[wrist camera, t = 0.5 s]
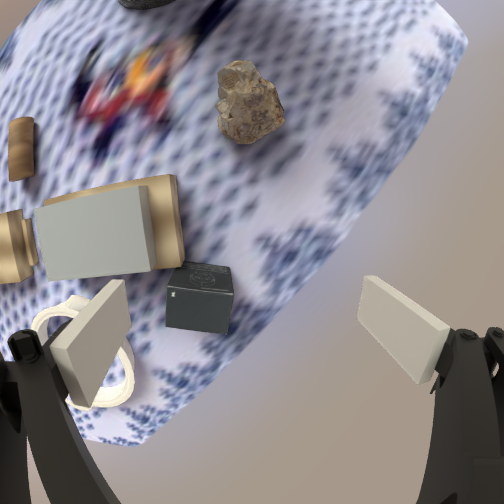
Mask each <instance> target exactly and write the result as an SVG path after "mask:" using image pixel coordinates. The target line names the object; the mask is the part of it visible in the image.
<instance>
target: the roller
mask: <svg viewBox="0 0 504 504" xmlns="http://www.w3.org/2000/svg"><path fill="white" fill-rule="evenodd" d="M33 132H34V118H32V117H21V118H17V119H14V120H13V121H11V122H10V124H9V142H8V167H9V181H19V180H23V179H27V178H30V177H32V176H34V160H33Z"/></svg>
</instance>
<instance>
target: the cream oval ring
mask: <svg viewBox="0 0 504 504" xmlns="http://www.w3.org/2000/svg"><path fill="white" fill-rule="evenodd" d="M90 301H91V300H89V299H87V298H84V297H82V296H79V295H71V297H70V298H69V299H68V300H67V301H66V302H64V303H60V304H58V305H57V306H55V307H51V308H46V309H44V310H43V311H41V312H39V313H38V315H37V316H36V317H35V318H34V320H33V323H32V325H31V330H34V331H36V332H37V334H38V337H39V340H40V343H41V345H42V346H43V345H44V343H45V342H46V341H47V340H48V335H47V326H48V321H49V319H50V317H52V316H57V315H58V316H68V317H72V318H75V317H76V316H77V315H78V314H79V312H80V311H81V310H82V309H83V308H84V307H85V306H86V305H87V304H88V303H89V302H90ZM117 354H118V356H119V358H120V359H121V361H122V364H123V367H124V370H125V375H126V380H125V381H124V382H123V383H121V384H120V385H118V386H114V387H108V388H103V387H100V388H99V391H98V393H97V395H96V397H95V399H94V401H93V403H92V406H91V408H86V407H82V406H77V405H74V404H73V403H72V402H71V401H69V400H68V399H67V398H66V400H65V401H66V403H68V404H69V405H71V406H73V407H74V408H77V409H79V410H81V411H87V412H88V411H89V410H91V409H92V407H93V406H96V407H113V406H117V405H120V404H122V403H123V402H125V401H126V400H127V399H128V398H129V397H130V396H131V394H132V392H133V389H134V383H135V380H134V368H135V359H134V354H133V351H132V348H131V346H130V344H129V342H128V340H127V338H126V337H125V339H124V341H123V343H122V345H121V347H120V348H119V350H118V352H117ZM68 395H69V394H68ZM69 396H70V395H69Z"/></svg>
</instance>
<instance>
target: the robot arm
mask: <svg viewBox="0 0 504 504" xmlns="http://www.w3.org/2000/svg"><path fill="white" fill-rule="evenodd" d="M118 1H119V2H120V4H121V5H123V6H125V7H127V8H131V9H149V8H154V7H158V6H162V5H165V4H168V3H170V2H172V1H175V0H118ZM357 320H358V321H359V322H360V323H361V324H362V325H363V326H364V327H365V328H366V329H367V330H368V331H369V332H370V333H371V334H372V336H373V337H375V339H376V340H377V341H378V342H379V343H380V344H381V345H382V346H383V347H384V348H385V350H386V351H387V352H388V353H389V354H390V355H391V356H392V357H393V358H394V359H395V360H396V361H397V363H398V364H399V365H400V366H401V367H402V368H403V369H404V370H405V371H406V372H407V374H408V375H409V376H410V377H411V378H412V379H413V380H414V381H415V383H416V384H417V385H420V384H422V383H425V382H428V381H430V379H431V377H432V375H433V372H434V370H436V371H437V372H438V373H439V375H438V377H437V379H436V381H435V383H434V385H433V388H432V390H431V392H430V394H432V393H433V391H434V390H436V392H435V408H434V418H433V428H432V435H431V442H430V449H429V454H428V460H427V465H426V470H425V474H424V478H423V483H422V486H421V490H420V494H419V498H418V500H417V503H416V504H504V331H503V330H502V329H501V328H498V327H496V328H495V327H490V328H489V329H488V330H487V333H486V336H485V337H484V338H479V337H478V335H477V334H476V333H475V332H473V331H471V330H467V329H458V330H456V331H455V330H453V329H451V328H450V327H449V326H448V325H446V324H445V323H444V322H442V321H441V320H439V319H438V318H437V317H435V316H434V315H432V314H431V313H430V312H428V311H427V310H425V309H424V308H422V307H421V306H420V305H418V304H416V303H415V302H414V301H412V300H411V299H409V298H408V297H406V296H405V295H404V294H402V293H401V292H399V291H398V290H396V289H394V288H393V287H392V286H390V285H389V284H387V283H386V282H384V281H383V280H381V279H380V278H378V277H377V276H374V275H372V276H364V280H363V286H362V292H361V298H360V304H359V309H358V315H357ZM131 326H132V325H131V319H130V314H129V308H128V301H127V295H126V288H125V280H115V279H112V280H111V281H110V282H109V283H108V284H107V285H106V286H105V287H104V288H103V289H102V290H101V291H100V292H99V293H98V294H97V295H96V296H95V297H94V298H93V299H92V300H91V301H90V302H89V303H88V304H87V305H86V306H85V307H84V308H83V309H82V310H81V311H80V312H79V314H78V315H77V316H76V317H75V318H74V319H73V320H72V319H70V320H69V321H67V322H65V323H63V324H62V325H61V326H60V327H59V328H58V329H57V331H55V332H54V333H53V335H52V336H51V337H50V338H49V339H48V340H47V341H46V342H45V343H44V345H43V346H42V345H41V343H40V340H39V337H38V334H37V332H36V331H34V330H30V329H25V330H20V331H18V332H16V333H14V334H12V335H11V336H10V337H9V339H8V342H7V343H8V345H9V348H10V350H11V353H12V355H13V358H14V360H15V361H5V360H4V358H3V356H2V354H1V352H0V504H31V498H30V490H29V481H28V467H27V437H28V441H29V444H30V448H31V451H32V455H33V458H34V461H35V464H36V467H37V470H38V473H39V476H40V478H41V481H42V483H43V486H44V489H45V491H46V494H47V496H48V498H49V500H50V503H51V504H121V503H120V501H119V500H118V498H117V497H116V496H115V494H114V493H113V491H112V490H111V488H110V487H109V485H108V483H107V482H106V480H105V479H104V477H103V475H102V474H101V472H100V470H99V469H98V467H97V465H96V464H95V462H94V460H93V458H92V456H91V454H90V453H89V451H88V449H87V447H86V445H85V443H84V441H83V439H82V437H81V435H80V433H79V431H78V428H77V426H76V424H75V422H74V419H73V417H72V415H71V412H70V410H69V408H68V405H67V403H66V401H65V400H66V398H67V396H68V394H69V395H70V398H71V400H72V402H73V404H74V405H77V406H82V407H86V408H91V406H92V403H93V401H94V399H95V397H96V395H97V393H98V391H99V388H100V386H101V384H102V382H103V380H104V378H105V376H106V374H107V372H108V370H109V368H110V366H111V364H112V362H113V360H114V358H115V356H116V354H117V352H118V350H119V348H120V347H121V345H122V343H123V341H124V339H125V337H126V335H127V333H128V332H129V330H130V328H131ZM497 363H498V364H499V370H498V372H497V374H496V375H495V377H494V376H493V374H492V373H493V371H494V369H495V367H496V365H497Z"/></svg>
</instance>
